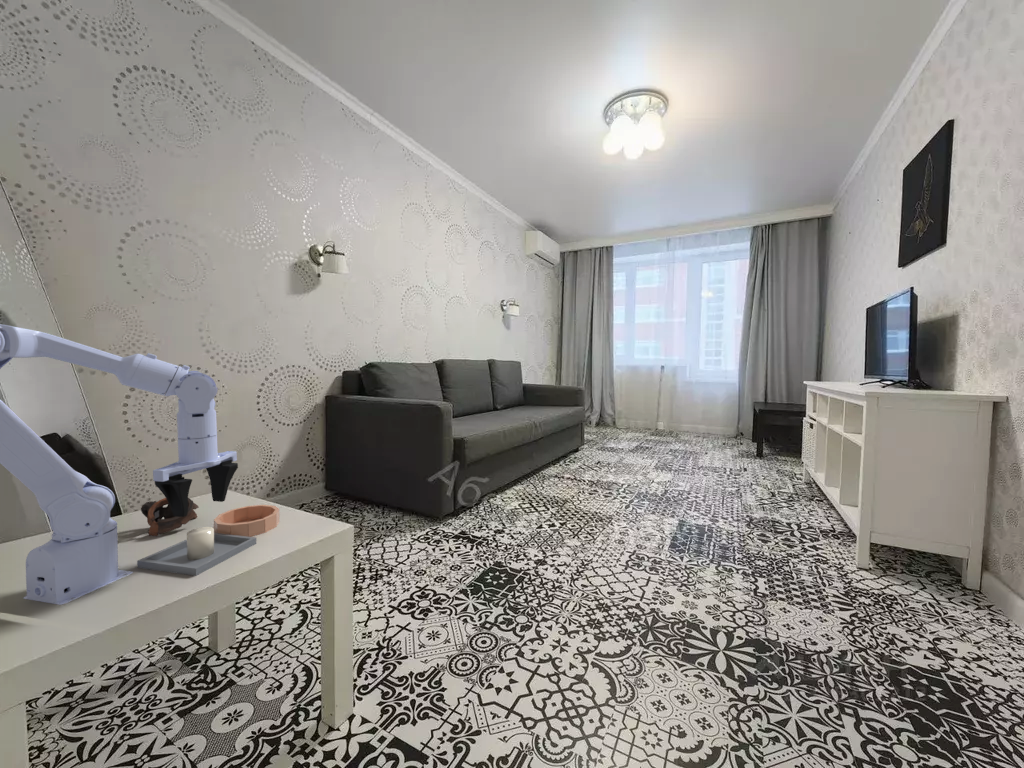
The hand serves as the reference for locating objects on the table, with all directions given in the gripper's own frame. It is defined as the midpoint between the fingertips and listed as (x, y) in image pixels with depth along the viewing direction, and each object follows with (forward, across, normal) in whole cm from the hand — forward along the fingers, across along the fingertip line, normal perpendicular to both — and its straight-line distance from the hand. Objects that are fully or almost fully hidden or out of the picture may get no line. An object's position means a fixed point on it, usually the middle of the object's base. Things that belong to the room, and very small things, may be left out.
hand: (200, 508), depth 73 cm
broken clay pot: (+10, +9, +19) cm, 23 cm away
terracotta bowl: (+10, +12, +2) cm, 16 cm away
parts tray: (+9, 0, 0) cm, 9 cm away
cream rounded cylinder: (+9, 0, 0) cm, 9 cm away
